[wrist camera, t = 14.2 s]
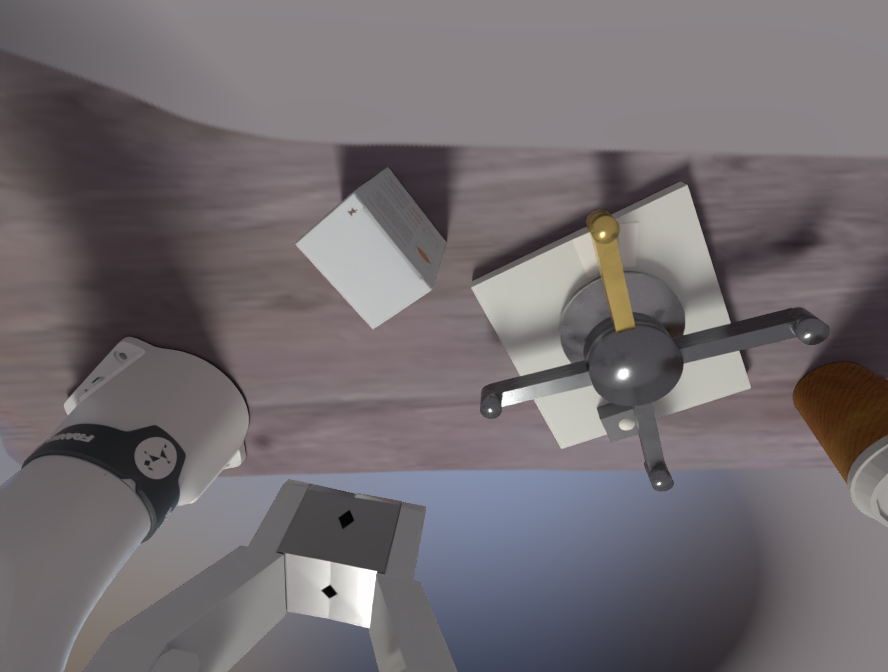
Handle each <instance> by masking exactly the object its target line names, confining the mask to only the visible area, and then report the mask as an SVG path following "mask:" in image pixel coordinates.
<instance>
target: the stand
mask: <svg viewBox="0 0 888 672" xmlns="http://www.w3.org/2000/svg"><path fill="white" fill-rule="evenodd" d="M611 215H612V216H613V217H614V219H615V220H616V221H617V222H618V223H619V226H620V233H619V235H618V237H617V238H616V240H617V244H618V249H619V253H620V258H621V263H622V267H623V271H637V272H642V273H646V274H649V275H652V276H654V277H656V278H658V279H660V280H662V281H663V282H664V283H665V284H667V285H668V286H669V287H670V289H671V290H672V291H673V292H674V293H675V294H676V295H677V297H678V298H679V300H680V302H681V304H682V306H683V309H684V313H685V330H684V334H683V335H686V334H690V333H694V332H698V331H702V330H706V329H710V328H714V327H718V326H722V325H726V324H730V323H731V322H730V319H729V316H728V313H727V310H726V306H725V303H724V300H723V297H722V294H721V290H720V287H719V284H718V281H717V278H716V274H715V271H714V268H713V265H712V262H711V258H710V255H709V252H708V249H707V246H706V242H705V239H704V236H703V233H702V230H701V227H700V223H699V220H698V217H697V214H696V211H695V207H694V204H693V201H692V198H691V195H690V191H689V188H688V185H687V184H685V183H683V182H681V181H680V182H678V183H676V184H674V185H672V186H670V187H668V188H665V189H663V190H661V191H659V192H657V193H655V194H653V195H651V196H649V197H647V198H645V199H642V200H640V201H638V202H636V203H634V204H632V205H630V206H628V207H626V208H624V209H622V210H619V211H617V212H615V213H613V214H611ZM599 276H600V272H599V268H598V264H597V260H596V256H595V251H594V247H593V243H592V239H591V235H590V232H589V231H588V229H587V228H586V227H584V228H582V229H580V230H578V231H576V232H574V233H571V234H569V235H567V236H565V237H563V238H561V239H559V240H557V241H555V242H553V243H551V244H549V245H546V246H544V247H542V248H540V249H538V250H536V251H534V252H532V253H530V254H528V255H526V256H523V257H521V258H519V259H517V260H515V261H513V262H511V263H509V264H507V265H505V266H503V267H500V268H498V269H496V270H494V271H492V272H490V273H488V274H486V275H484V276H482V277H480V278H478V279H475V280H473V281H472V285H471V288H472V290H473V292H474V294H475V295H476V297H477V299H478V301H479V303H480V304H481V306H482V308H483V310H484V311H485V313H486V315H487V317H488V319H489V320H490V322H491V324H492V326H493V328H494V329H495V331H496V333H497V335H498V337H499V338H500V340H501V342H502V344H503V345H504V347H505V349H506V351H507V353H508V354H509V356H510V358H511V360H512V362H513V363H514V365H515V367H516V369H517V370H518V372H519V374H520V376H524V375H527V374H531V373H535V372H539V371H543V370H547V369H551V368H555V367H559V366H563V365H567V364H571V362H570V361H569V360H568V358H567V357H566V355H565V353H564V351H563V348H562V345H561V341H560V336H559V322H560V318H561V314H562V312H563V309H564V307H565V305H566V304H567V302H568V300H569V299H570V298H571V296H572V295H573V294H574V293H575V292H576V291H577V290H578V289H579V288H581V287H582V286H583V285H584V284H586V283H588V282H589V281H591V280H593V279H595V278H597V277H599ZM591 383H592V382H591ZM750 388H751V386H750V383H749V380H748V377H747V373H746V370H745V367H744V364H743V361H742V357H741V354H740V351H735V352H731V353H727V354H723V355H718V356H714V357H710V358H706V359H702V360H697V361H693V362H689V363H685V364H684V366H683V372H682V375H681V378H680V380H679V381H678V383H677V385H676V386H675V387H674V388H673V389H672V390H671V391H670V392H669V393H668V394H667V395H665V396H664V397H662V398H661V399H659V400H657V401H654V402H652V406H653V411H654V415H655V419H656V418H659V417H663V416H666V415H669V414H672V413H675V412H678V411H681V410H684V409H687V408H691V407H694V406H697V405H700V404H703V403H706V402H709V401H712V400H715V399H719V398H722V397H725V396H728V395H731V394H734V393H737V392H740V391H743V390H747V389H750ZM534 401H535V403H536V404H537V406H538V408H539V410H540V412H541V413H542V415H543V417H544V419H545V420H546V422H547V424H548V426H549V428H550V429H551V431H552V433H553V435H554V437H555V438H556V440H557V442H558V444H559V445H560V447H561V449H563V448H566V447H569V446H572V445H575V444H578V443H582V442H585V441H588V440H591V439H594V438H597V437H600V436H603V435H606V434H607V435H608V437H609V439H610V441H611V442H614V441H618V440H621V439H624V438H627V437H630V436H633V435H637V434H638V430H637V426H636V421H635V417H634V413H633V409H632V406H622V405H617V404H614V403H611V402H609V401H607V400H605V399H604V398H602V397H601V396H600V395H599V394H598V393H597V392H596V390H595V389H594V387H593V385H591V386H587V387H583V388H579V389H575V390H570V391H566V392H562V393H558V394H553V395H549V396H545V397H541V398H536V399H534Z"/></svg>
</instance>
